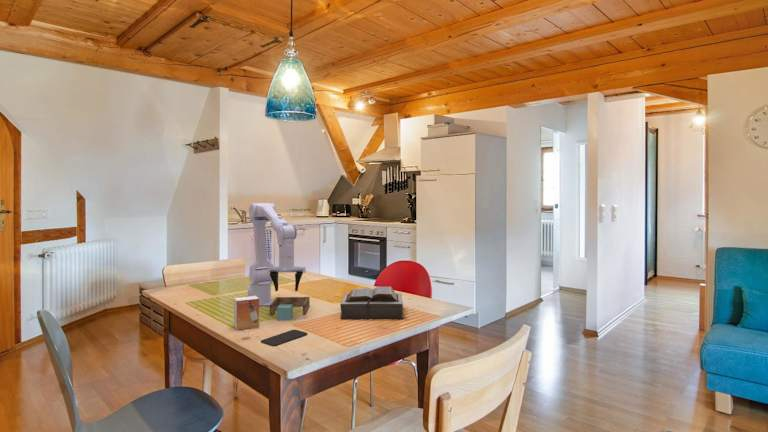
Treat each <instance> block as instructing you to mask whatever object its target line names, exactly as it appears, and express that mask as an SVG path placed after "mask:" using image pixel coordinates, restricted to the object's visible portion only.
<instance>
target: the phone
mask: <svg viewBox="0 0 768 432" xmlns="http://www.w3.org/2000/svg"><path fill="white" fill-rule="evenodd" d="M306 336H308V332H306V331H301V330H299V329H290V330H288V331H285V332H282V333H280V334H276V335H273V336H270V337H267V338H264V339H261V340H260V343H261V344H264V345H267V346H271V347H277V346H280V345H283V344H286V343H288V342H292V341H294V340H298V339H300V338H301V339H302V338H303V337H306Z"/></svg>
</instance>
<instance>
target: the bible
mask: <svg viewBox="0 0 768 432" xmlns="http://www.w3.org/2000/svg"><path fill="white" fill-rule="evenodd" d="M402 296H403V295H402V293H396V292H395V291H394V288H393V287H392V286H376V287H374V289H372V288H367V287H365V288H352V290H351V291H350V292H348V293H344V294H343V297H342V300H341V301H340V303H339V305H340V312H341V314H340V321H342V320H344V321H345V320H358V321H359V320H361V319H378V320H379V319H381V320H382V319H398V320H400V319H401V320H402V319H403V309H404V308H403V306H404V302H403V297H402Z"/></svg>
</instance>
